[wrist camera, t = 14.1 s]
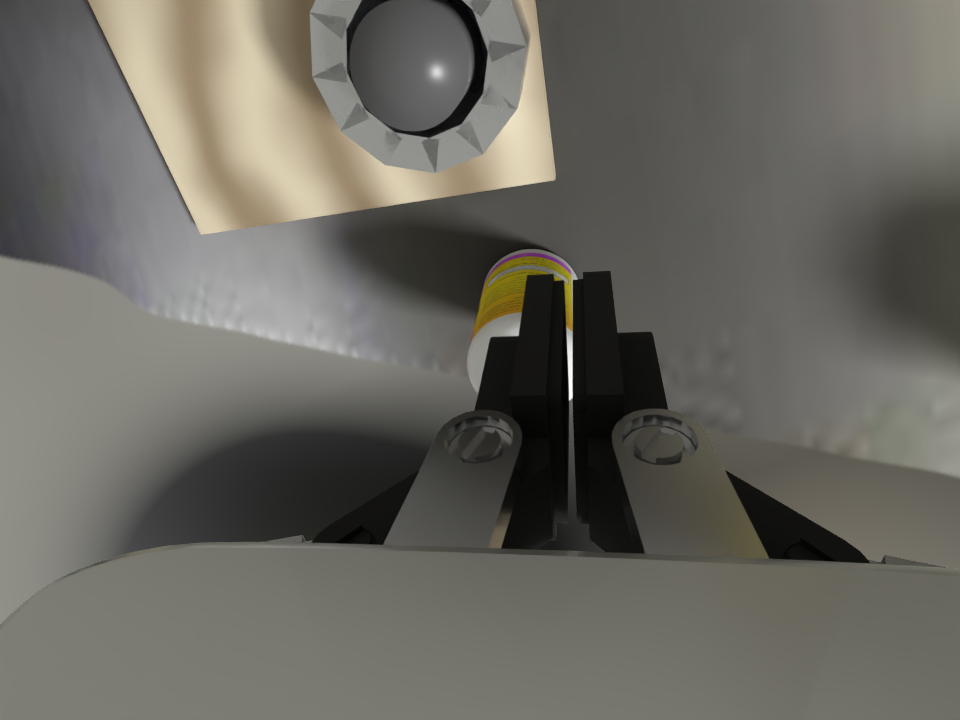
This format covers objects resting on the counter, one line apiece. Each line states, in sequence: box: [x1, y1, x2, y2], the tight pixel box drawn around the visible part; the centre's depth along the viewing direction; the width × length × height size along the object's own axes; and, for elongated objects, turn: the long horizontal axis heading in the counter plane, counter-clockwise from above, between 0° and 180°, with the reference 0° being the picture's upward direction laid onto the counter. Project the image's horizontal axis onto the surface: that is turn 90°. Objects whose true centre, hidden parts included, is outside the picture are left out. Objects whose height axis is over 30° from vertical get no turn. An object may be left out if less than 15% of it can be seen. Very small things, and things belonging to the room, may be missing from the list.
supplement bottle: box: [467, 249, 578, 400], centre depth 34 cm, size 7×7×13 cm
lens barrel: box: [310, 0, 531, 173], centre depth 29 cm, size 10×10×5 cm
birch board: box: [88, 0, 556, 235], centre depth 33 cm, size 24×16×1 cm, turn 101°
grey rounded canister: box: [350, 0, 482, 131], centre depth 27 cm, size 5×5×6 cm
